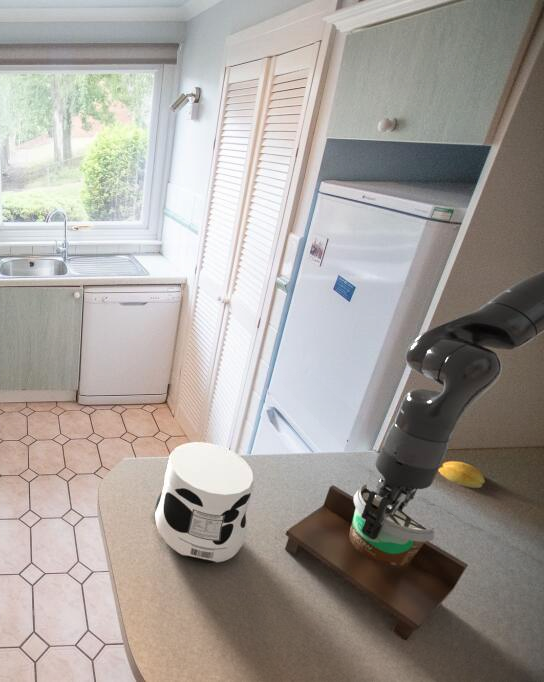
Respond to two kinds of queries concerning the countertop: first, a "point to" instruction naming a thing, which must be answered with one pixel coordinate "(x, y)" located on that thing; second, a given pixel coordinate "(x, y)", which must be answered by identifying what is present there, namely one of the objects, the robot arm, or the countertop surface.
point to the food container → (388, 535)
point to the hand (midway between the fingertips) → (379, 527)
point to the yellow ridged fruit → (462, 474)
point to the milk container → (204, 502)
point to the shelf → (377, 564)
